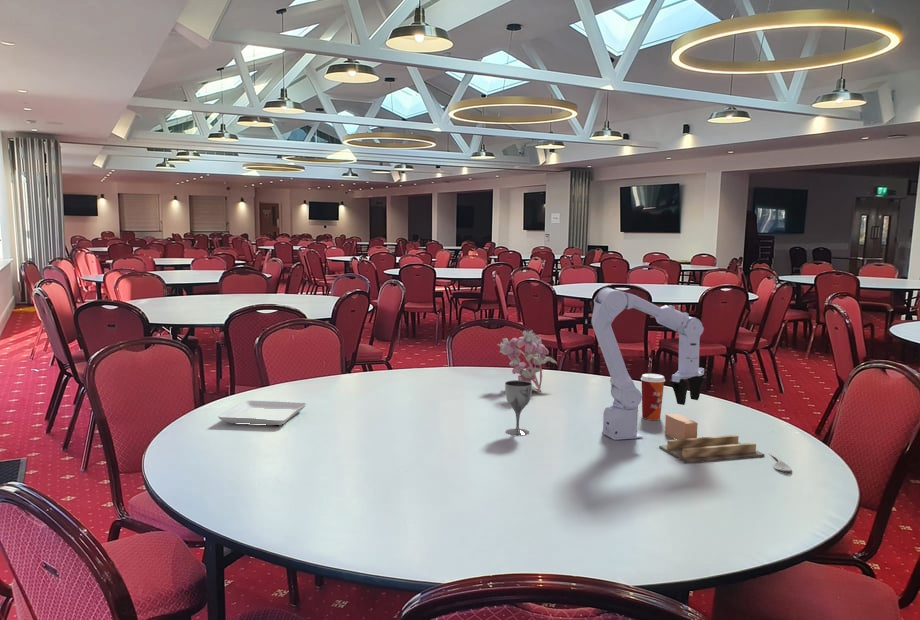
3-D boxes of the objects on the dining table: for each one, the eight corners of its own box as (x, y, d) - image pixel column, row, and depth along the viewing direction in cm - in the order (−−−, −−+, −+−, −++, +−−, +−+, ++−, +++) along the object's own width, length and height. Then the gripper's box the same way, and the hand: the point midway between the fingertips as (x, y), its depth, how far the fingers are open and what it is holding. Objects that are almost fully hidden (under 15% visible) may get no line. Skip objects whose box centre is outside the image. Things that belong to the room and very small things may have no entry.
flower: (575, 383, 252) (553, 324, 257) (551, 389, 233) (528, 324, 238) (531, 399, 262) (511, 341, 267) (505, 406, 243) (484, 343, 248)
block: (696, 443, 187) (697, 422, 186) (684, 444, 186) (685, 423, 185) (676, 432, 196) (677, 413, 196) (664, 433, 195) (665, 414, 195)
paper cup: (658, 422, 207) (660, 379, 205) (635, 418, 211) (637, 376, 210) (667, 417, 213) (669, 375, 211) (644, 413, 217) (646, 372, 216)
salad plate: (307, 411, 217) (307, 401, 216) (284, 430, 196) (284, 419, 195) (246, 409, 219) (246, 399, 218) (217, 427, 198) (216, 416, 197)
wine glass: (499, 433, 193) (500, 384, 192) (510, 426, 200) (511, 379, 199) (524, 437, 190) (525, 387, 188) (534, 430, 197) (535, 382, 195)
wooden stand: (686, 463, 170) (687, 453, 169) (659, 447, 182) (659, 437, 182) (764, 456, 176) (765, 446, 175) (732, 441, 188) (733, 432, 188)
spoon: (776, 475, 163) (777, 468, 163) (761, 449, 183) (761, 443, 183) (794, 476, 162) (795, 470, 162) (777, 450, 182) (777, 445, 182)
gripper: (688, 362, 184) (687, 408, 186) (714, 355, 194) (712, 399, 195) (666, 359, 190) (665, 404, 191) (692, 352, 199) (691, 395, 201)
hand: (687, 401), depth 194 cm, fingers open, 7 cm apart
